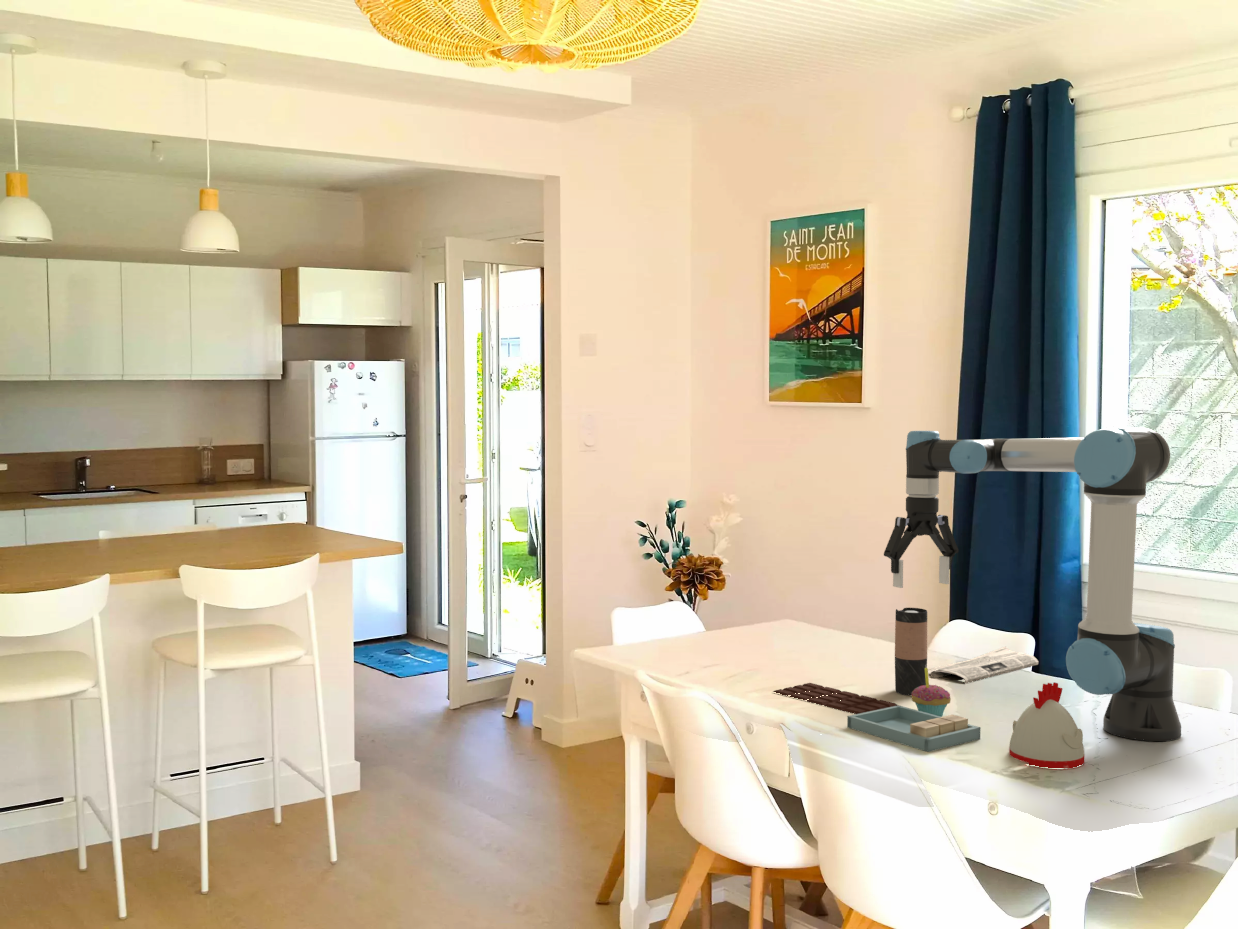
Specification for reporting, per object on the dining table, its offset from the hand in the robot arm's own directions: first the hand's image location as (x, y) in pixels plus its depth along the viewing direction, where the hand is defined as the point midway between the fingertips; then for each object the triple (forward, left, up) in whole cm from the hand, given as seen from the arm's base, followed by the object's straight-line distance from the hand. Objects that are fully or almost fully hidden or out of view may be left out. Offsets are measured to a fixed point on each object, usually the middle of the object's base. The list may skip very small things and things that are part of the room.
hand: (921, 585), depth 281 cm
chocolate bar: (+10, +18, -27) cm, 34 cm away
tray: (-22, +27, -27) cm, 44 cm away
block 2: (-29, +27, -26) cm, 47 cm away
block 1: (-29, +32, -26) cm, 50 cm away
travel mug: (+4, -2, -27) cm, 27 cm away
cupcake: (-14, +12, -27) cm, 33 cm away
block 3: (-29, +23, -26) cm, 45 cm away
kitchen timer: (-48, +18, -27) cm, 58 cm away
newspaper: (+10, -37, -27) cm, 47 cm away
